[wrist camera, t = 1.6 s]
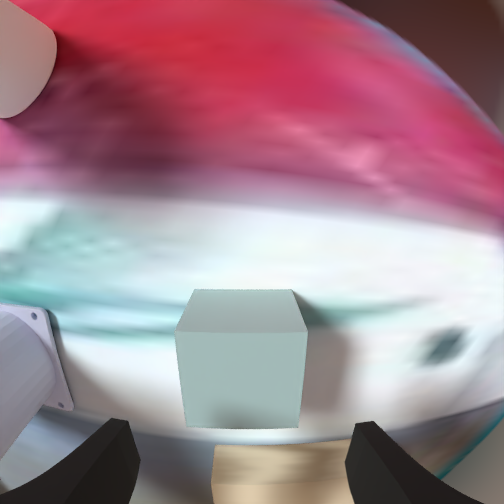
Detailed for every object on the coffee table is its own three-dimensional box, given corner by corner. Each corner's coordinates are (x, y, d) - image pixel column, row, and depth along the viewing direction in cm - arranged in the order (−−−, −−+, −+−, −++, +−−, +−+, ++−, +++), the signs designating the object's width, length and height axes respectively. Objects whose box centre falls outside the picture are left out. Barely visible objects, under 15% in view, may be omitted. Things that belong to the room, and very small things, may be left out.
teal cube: (200, 369, 18) (186, 426, 13) (194, 288, 16) (174, 331, 12) (286, 369, 18) (297, 427, 13) (291, 288, 17) (308, 332, 12)
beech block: (224, 517, 22) (222, 549, 18) (215, 441, 19) (210, 483, 15) (349, 508, 22) (357, 539, 18) (381, 430, 19) (398, 467, 15)
